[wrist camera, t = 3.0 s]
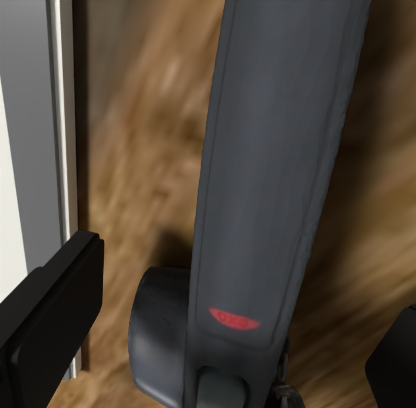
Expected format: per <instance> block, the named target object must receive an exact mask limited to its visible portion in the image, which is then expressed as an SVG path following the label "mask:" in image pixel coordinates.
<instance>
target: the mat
mask: <svg viewBox="0 0 416 408" xmlns="http://www.w3.org/2000/svg"><path fill="white" fill-rule="evenodd" d="M76 231H78V214H77V176H76V138H75V100H74V62H73V24H72V0H0V303H1V302H2V301H3V300H4V299H5V298H6V297H7V296H8V295H9V294H10V293H11V292H12V291H13V290H14V289H15V288H16V287H17V286H18V284H19V283H20V282H21V281H22V280H23V279H24V278H25V277H26V276H27V275H28V274H29V273H30V272H31V271H32V270H34V269H35V268H37V267H39V266H41V267H43V266H44V265H45V264H46V263H47V262H48V261H49V260H50V259H51V258H52V257H53V256H54V255H55V253H56V252H57V251H58V250H59V249H60V248H61V247H62V246H63V245H64V244H65V243H66V242H67V241H68V240H69V239H70V238H71V237H72V235H73V234H74V233H75V232H76ZM80 369H81V346H80V348H79V350H78V352H77V354H76V355H75V357H74V359H73V361H72V363H71V364H70V366H69V368H68V370H67V372H66V373H65V375H64V377H63V380H67V381H69V380H70V378H71V377H72V378H76V377H77V375H78V373H79V371H80Z"/></svg>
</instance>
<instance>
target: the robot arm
mask: <svg viewBox="0 0 416 408" xmlns="http://www.w3.org/2000/svg"><path fill="white" fill-rule="evenodd" d="M103 268H104V240H103V239H100V238H99V234H98V233H94V232H89V231H85V230H78V231H76V232H75V233H74V234H73V235H72V237H71V238H70V239H69V240H68V241H67V242H66V243H65V244H64V245H63V246H62V247H61V248H60V249H59V250H58V251H57V252H56V253H55V255H54V256H53V257H52V258H51V259H50V260H49V261H48V262H47V263H46V264H45V265H44V266H43V267H41V266H39V267H37V268H35V269H34V270H32V271H31V272H30V273H29V274H28V275H27V276H26V277H25V278H24V279H23V280H22V281H21V282H20V283H19V284H18V286H17V287H16V288H15V289H14V290H13V291H12V292H11V293H10V294H9V295H8V296H7V297H6V298H5V299H4V300H3V301H2V302H1V303H0V408H46V407H47V406H48V404H49V402H50V400H51V398H52V397H53V395H54V393H55V391H56V389H57V388H58V386H59V384H60V382H61V380H62V379H63V377H64V375H65V373H66V372H67V370H68V368H69V366H70V364H71V363H72V361H73V359H74V357H75V355H76V354H77V352H78V350H79V348H80V346H81V345H82V343H83V341H84V339H85V337H86V336H87V334H88V332H89V330H90V328H91V327H92V325H93V323H94V321H95V320H96V318H97V316H98V314H99V312H100V309H101V306H102V297H103ZM365 373H366V376H367V379H368V381H369V384H370V386H371V389H372V392H373V394H374V397H375V399H376V402H377V405H378V407H379V408H416V305H411V306H409V307H408V308H405V309H403V310H402V312H401V313H400V315H399V316H398V317H397V319H396V320H395V322H394V323H393V325H392V326H391V327H390V329H389V330H388V332H387V333H386V334H385V336H384V337H383V339H382V340H381V342H380V343H379V344H378V346H377V347H376V349H375V350H374V351H373V353H372V354H371V356H370V357H369V359H368V360H367V362H366V364H365Z"/></svg>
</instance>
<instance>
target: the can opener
mask: <svg viewBox="0 0 416 408" xmlns="http://www.w3.org/2000/svg"><path fill="white" fill-rule="evenodd" d="M371 2H372V0H225V5H224V10H223V16H222V22H221V29H220V36H219V42H218V49H217V55H216V60H215V68H214V73H213V78H212V87H211V93H210V101H209V108H208V115H207V122H206V133H205V139H204V144H203V150H202V161H201V171H200V179H199V187H198V197H197V208H196V217H195V224H194V237H193V248H192V263H191V269H184V268H173V267H150V268H148V270H147V271H146V272H145V273H144V275H143V277H142V279H141V281H140V283H139V286H138V289H137V292H136V295H135V299H134V302H133V306H132V310H131V316H130V322H129V332H128V352H129V362H130V369H131V373H132V377H133V381H134V383H135V385H136V387H137V388H138V389H139V390H140V391H142V392H143V393H145V394H147V395H148V396H150V397H151V398H153V399H155V400H156V401H158V402H160V403H161V404H163V405H164V406H166V407H168V408H305V405H304V402H303V400H302V398H301V395H300V394H299V393H298V392H297V390H296V389H295V388H294V387H293V386H292V385H286V384H285V378H286V375H287V372H288V355H289V352H290V337H289V335H288V330H289V326H290V322H291V319H292V315H293V312H294V309H295V306H296V303H297V297H298V295H299V292H300V288H301V284H302V280H303V278H304V274H305V270H306V266H307V263H308V260H309V258H310V256H311V252H312V248H313V244H314V241H315V235H316V232H317V229H318V226H319V221H320V217H321V213H322V209H323V205H324V203H325V200H326V197H327V191H328V188H329V183H330V178H331V174H332V171H333V168H334V166H335V159H336V157H337V154H338V150H339V145H340V140H341V134H342V129H343V127H344V125H345V120H346V114H347V107H348V104H349V102H350V99H351V95H352V90H353V85H354V80H355V76H356V73H357V69H358V63H359V58H360V52H361V48H362V45H363V42H364V33H365V30H366V26H367V22H368V19H369V13H370V5H371Z"/></svg>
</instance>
